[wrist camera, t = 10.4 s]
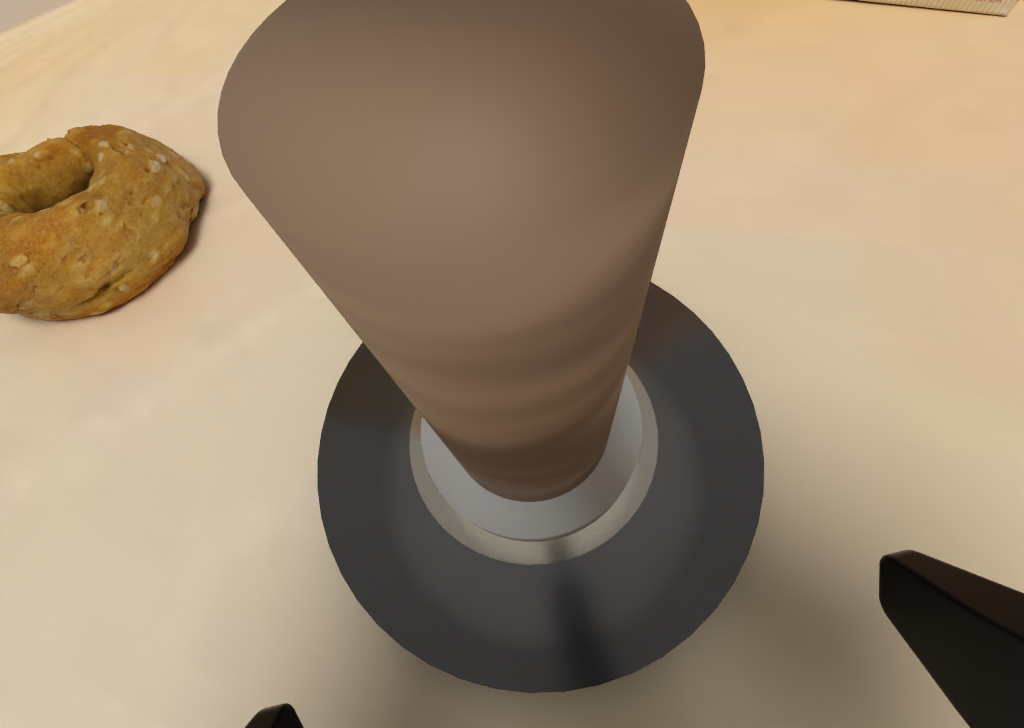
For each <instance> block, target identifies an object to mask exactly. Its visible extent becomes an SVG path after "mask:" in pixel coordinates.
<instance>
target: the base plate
mask: <svg viewBox="0 0 1024 728" xmlns="http://www.w3.org/2000/svg"><path fill="white" fill-rule="evenodd" d="M626 375H627V377H628V379H629V380H630V382H631V384H632V386H633V388H634V391H635V393H636V396H637V399H638V402H639V406H640V410H641V418H642V442H641V448H640V454H639V457H638V460H637V463H636V467H635V469H634V471H633V473H632V475H631V477H630V480H629V482H628V483H627V485H626V487H625V489H624V490H623V492H622V493H621V495H620V496H619V498H618V500H617V501H616V502H615V503H614V504H613V505H612V507H611V508H610V509H609V510H608V511H607V512H606V513H605V514H604V515H602V516H601V517H600V518H599V519H598V520H597V521H595V522H594V523H592V524H591V525H589V526H587V527H586V528H584V529H582V530H580V531H578V532H576V533H574V534H571V535H569V536H565V537H562V538H559V539H555V540H548V541H542V542H525V541H517V540H510V539H507V538H503V537H499V536H496V535H494V534H492V533H489V532H487V531H485V530H483V529H481V528H480V527H478V526H476V525H475V524H473V523H472V522H470V521H469V520H468V519H466V518H465V517H464V516H463V515H461V514H460V513H459V512H458V511H456V510H455V509H454V508H453V507H452V506H451V505H450V504H449V503H448V502H447V501H446V499H445V498H444V497H443V496H442V494H441V493H440V492H439V490H438V489H437V487H436V486H435V484H434V482H433V480H432V478H431V476H430V474H429V472H428V469H427V466H426V463H425V460H424V456H423V451H422V445H421V422H422V415H421V414H420V413H419V412H418V410H417V409H416V408H415V407H414V405H413V404H412V403H411V401H410V400H409V399H408V398H407V396H406V395H405V394H404V393H403V391H402V390H401V389H400V388H399V386H398V385H397V384H396V383H395V381H394V380H393V379H392V378H391V376H390V375H389V374H388V373H387V371H386V370H385V369H384V368H383V366H382V365H381V364H380V363H379V361H378V360H377V359H376V358H375V356H374V355H373V354H372V352H371V351H370V350H369V349H368V347H367V346H366V345H365V344H364V342H363V343H362V344H361V345H360V347H359V348H358V350H357V351H356V353H355V354H354V355H353V357H352V358H351V360H350V361H349V363H348V365H347V367H346V369H345V370H344V372H343V374H342V376H341V378H340V380H339V382H338V383H337V386H336V389H335V391H334V394H333V396H332V399H331V401H330V404H329V406H328V409H327V413H326V417H325V421H324V425H323V429H322V432H321V439H320V447H319V454H318V495H319V503H320V510H321V517H322V521H323V525H324V529H325V532H326V536H327V540H328V543H329V546H330V549H331V551H332V553H333V556H334V558H335V560H336V563H337V565H338V567H339V570H340V572H341V574H342V576H343V577H344V579H345V581H346V582H347V584H348V586H349V587H350V589H351V591H352V592H353V594H354V595H355V597H356V599H357V600H358V601H359V603H360V604H361V605H362V606H363V607H364V609H365V610H366V611H367V612H368V614H369V615H370V616H371V617H372V618H373V620H374V621H375V622H376V623H377V624H378V625H379V626H380V627H381V628H382V629H383V630H384V631H385V632H386V633H388V634H389V635H390V636H391V637H392V638H393V639H394V640H395V641H396V642H398V643H399V644H400V645H401V646H402V647H404V648H405V649H407V650H408V651H410V652H411V653H413V654H414V655H416V656H417V657H419V658H420V659H422V660H423V661H425V662H426V663H428V664H429V665H432V666H434V667H436V668H438V669H440V670H442V671H445V672H447V673H449V674H451V675H453V676H455V677H458V678H460V679H463V680H466V681H470V682H473V683H477V684H480V685H484V686H487V687H491V688H495V689H503V690H511V691H519V692H527V693H535V692H564V691H570V690H575V689H581V688H586V687H591V686H597V685H600V684H603V683H606V682H609V681H612V680H614V679H617V678H620V677H623V676H626V675H629V674H631V673H633V672H635V671H637V670H639V669H641V668H643V667H644V666H646V665H648V664H650V663H652V662H654V661H656V660H657V659H659V658H661V657H663V656H664V655H666V654H667V653H668V652H670V651H671V650H672V649H673V648H675V647H676V646H677V645H679V644H680V643H681V642H683V641H684V640H685V639H687V638H688V637H689V636H690V635H691V634H692V633H693V632H694V631H695V630H696V629H697V628H698V627H699V626H700V625H701V624H702V623H703V622H704V621H705V620H706V619H707V618H708V617H709V616H710V615H711V614H712V613H713V612H714V610H715V609H716V608H717V606H718V605H719V603H720V602H721V600H722V599H723V598H724V596H725V595H726V593H727V592H728V591H729V589H730V588H731V586H732V585H733V583H734V582H735V579H736V577H737V575H738V573H739V571H740V569H741V567H742V565H743V563H744V561H745V559H746V557H747V555H748V553H749V550H750V547H751V544H752V541H753V538H754V534H755V531H756V528H757V525H758V521H759V515H760V509H761V503H762V497H763V485H764V457H763V449H762V441H761V432H760V428H759V424H758V421H757V417H756V413H755V409H754V405H753V402H752V400H751V397H750V395H749V393H748V390H747V388H746V385H745V383H744V380H743V378H742V376H741V374H740V373H739V371H738V369H737V367H736V366H735V364H734V362H733V360H732V359H731V357H730V355H729V353H728V352H727V351H726V349H725V348H724V347H723V345H722V344H721V343H720V341H719V340H718V339H717V337H716V336H715V335H714V333H713V332H712V331H711V330H710V329H709V328H708V327H707V326H706V325H705V324H704V323H703V322H702V321H701V320H700V319H699V318H698V317H697V316H696V315H695V313H694V312H692V311H691V310H690V309H689V308H687V307H686V306H685V305H684V304H682V303H681V302H680V301H679V300H678V299H676V298H675V297H674V296H672V295H671V294H669V293H668V292H666V291H664V290H663V289H661V288H660V287H658V286H657V285H655V284H653V283H652V282H650V285H649V289H648V292H647V296H646V300H645V303H644V307H643V311H642V315H641V318H640V322H639V326H638V330H637V333H636V337H635V341H634V345H633V348H632V352H631V356H630V360H629V363H628V367H627V371H626Z"/></svg>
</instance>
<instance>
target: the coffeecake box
mask: <svg viewBox="0 0 1024 728" xmlns="http://www.w3.org/2000/svg"><path fill="white" fill-rule="evenodd" d="M860 1H869V2H878V3H888V4H898V5H907V6H917V7H927V8H936V9H945V10H955V11H964V12H974V13H983V14H992V15H1001V16H1007V15H1008V14H1009V13H1010V12H1011V10H1012V9H1013V7H1014V6H1015V5H1016V4H1017V2H1018V1H1019V0H860Z"/></svg>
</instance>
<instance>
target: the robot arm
mask: <svg viewBox="0 0 1024 728" xmlns="http://www.w3.org/2000/svg"><path fill="white" fill-rule="evenodd" d="M879 599H880V603H881V606H882V608H883V610H884V612H885V614H886V615H887V617H888V618H889V620H890V621H891V622H892V624H893V625H894V626H895V628H896V629H897V630H898V632H899V633H900V634H901V636H902V637H903V639H904V640H905V641H906V643H907V644H908V645H909V647H910V648H911V649H912V651H913V652H914V653H915V655H916V656H917V657H918V659H919V660H920V662H921V663H922V664H923V666H924V667H925V668H926V670H927V671H928V672H929V674H930V675H931V676H932V678H933V679H934V680H935V682H936V683H937V685H938V686H939V687H940V689H941V690H942V691H943V693H944V694H945V695H946V697H947V698H948V699H949V701H950V702H951V703H952V705H953V706H954V707H955V709H956V710H957V711H958V713H959V714H960V715H961V716H962V718H963V719H964V720H965V722H966V723H967V724H968V725H969V727H970V728H1024V593H1022V592H1019V591H1017V590H1014V589H1011V588H1009V587H1006V586H1004V585H1001V584H999V583H996V582H994V581H991V580H988V579H986V578H983V577H981V576H978V575H976V574H973V573H971V572H968V571H965V570H963V569H960V568H958V567H955V566H953V565H950V564H948V563H945V562H942V561H940V560H937V559H935V558H932V557H930V556H927V555H925V554H922V553H919V552H916V551H913V550H904V551H900V552H896V553H891V554H887V555H885V556H883V557H882V559H881V560H880V568H879ZM245 728H304V727H303V725H302V723H301V721H300V720H299V718H298V716H297V714H296V712H295V710H294V708H293V707H292V706H291V705H289V704H288V703H287V704H285V703H284V704H280V705H276V706H272V707H268V708H265V709H262V710H261V711H259V712H258V713H257V714H256V715H255V716H254V717H253V718H252V720H251V721H250V722H249V723H248V724H247V726H246V727H245Z"/></svg>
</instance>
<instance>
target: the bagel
mask: <svg viewBox="0 0 1024 728" xmlns="http://www.w3.org/2000/svg"><path fill="white" fill-rule="evenodd" d="M204 194H205V186H204V181H203V178H202V175H201V173H200V172H199V171H198V170H197V169H196V168H195V166H194V165H192V164H191V163H190V162H188V161H187V160H186V159H184V158H183V157H182V156H180V155H179V154H177V153H176V152H175V151H174V150H172V149H171V148H169V147H168V146H166V145H164V144H162V143H161V142H159V141H157V140H155V139H152V138H150V137H147V136H145V135H143V134H140V133H138V132H136V131H133V130H131V129H127V128H125V127H122V126H117V125H110V124H109V125H102V126H91V125H90V126H85V127H76V128H73V129H70V130H68V134H65V138H54V139H47V141H44V142H42V143H40V144H38V145H36V146H35V147H33V148H31V149H30V150H28V151H27V152H22V153H14V154H8V155H1V156H0V313H6V314H15V313H18V314H22V315H24V316H27V317H29V318H36V319H44V320H62V319H77V318H82V317H87V316H90V315H98V314H102V313H104V312H107V311H109V310H111V309H112V308H114V307H117V306H119V305H122V304H124V303H126V302H127V301H129V300H130V299H132V298H133V297H135V296H137V295H138V294H140V293H141V292H143V291H144V290H146V289H147V288H148V287H149V286H150V285H151V284H152V283H153V282H154V281H155V280H156V279H158V278H159V277H160V276H162V275H163V274H164V273H165V272H166V271H167V269H168V268H169V267H170V266H172V265H173V263H174V261H175V260H176V257H177V255H179V254H180V253H181V251H182V250H183V249H184V246H185V243H186V242H187V240H188V235H189V226H190V224H191V222H192V221H193V220H194V218H196V216H197V213H198V208H199V200H200V199H201V198H202V197H203V196H204Z"/></svg>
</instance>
